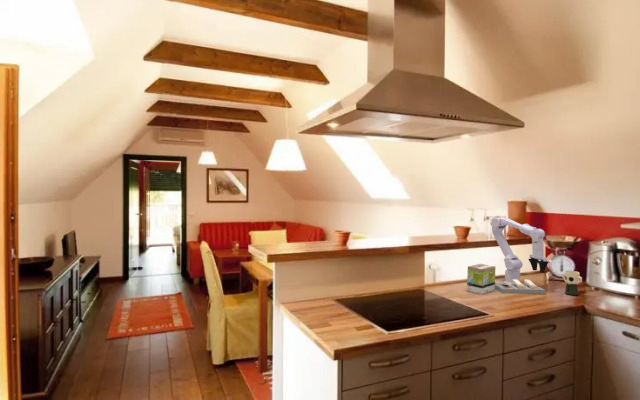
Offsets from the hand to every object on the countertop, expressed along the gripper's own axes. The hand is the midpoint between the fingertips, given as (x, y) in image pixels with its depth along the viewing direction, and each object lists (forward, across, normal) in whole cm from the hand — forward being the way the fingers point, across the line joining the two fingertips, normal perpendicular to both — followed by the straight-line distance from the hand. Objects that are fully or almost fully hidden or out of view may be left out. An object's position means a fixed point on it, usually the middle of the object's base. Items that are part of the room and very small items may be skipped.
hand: (538, 271), depth 214 cm
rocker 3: (+7, +4, -8) cm, 11 cm away
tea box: (+10, +4, -37) cm, 39 cm away
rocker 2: (+7, +4, -15) cm, 17 cm away
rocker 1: (+6, +4, -22) cm, 23 cm away
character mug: (+11, +12, +12) cm, 20 cm away
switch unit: (+10, +4, -15) cm, 19 cm away
